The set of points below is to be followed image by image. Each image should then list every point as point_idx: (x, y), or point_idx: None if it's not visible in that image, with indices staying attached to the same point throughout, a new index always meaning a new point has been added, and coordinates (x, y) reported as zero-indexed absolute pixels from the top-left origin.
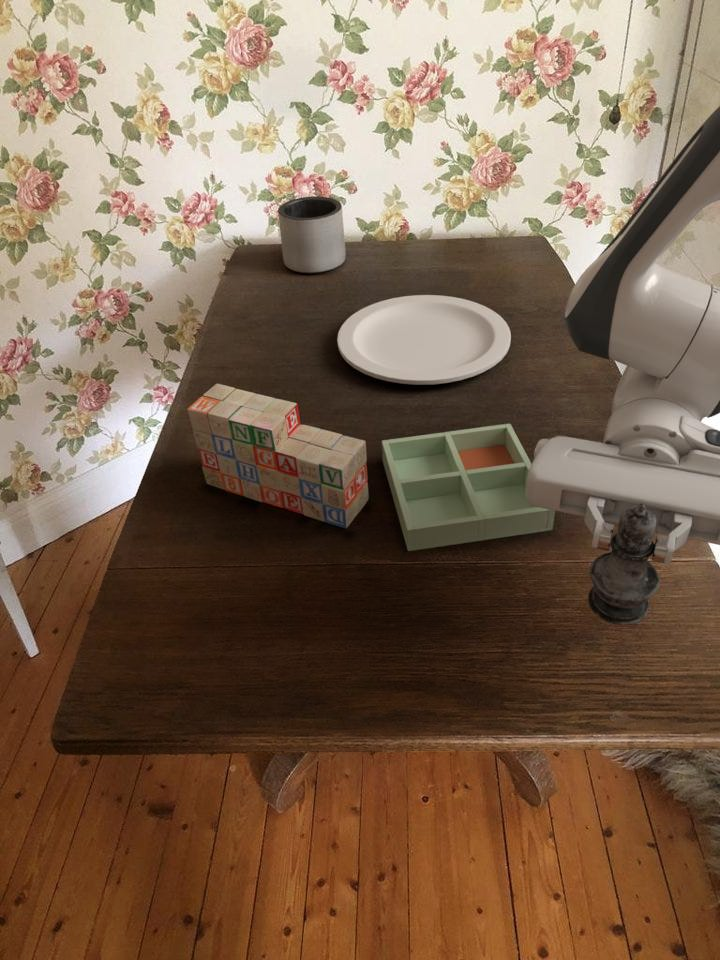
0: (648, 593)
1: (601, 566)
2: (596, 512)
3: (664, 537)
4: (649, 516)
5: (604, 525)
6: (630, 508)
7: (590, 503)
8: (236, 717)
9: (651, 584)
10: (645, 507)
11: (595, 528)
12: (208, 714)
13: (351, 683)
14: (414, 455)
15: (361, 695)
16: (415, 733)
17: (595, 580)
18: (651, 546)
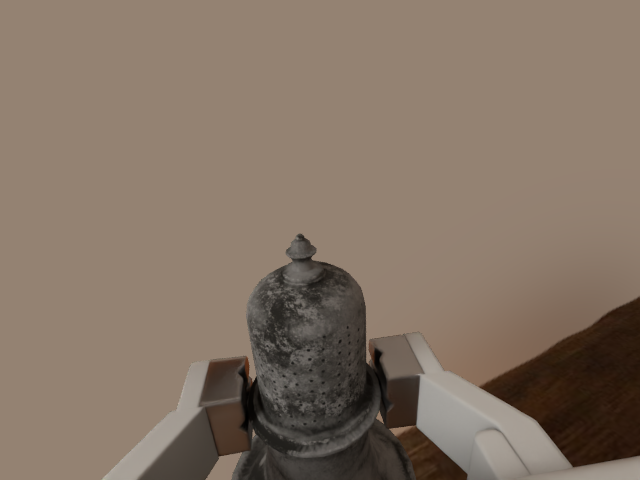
0: (256, 442)
1: (384, 456)
2: (471, 395)
3: (216, 392)
4: (270, 278)
5: (411, 363)
6: (341, 289)
7: (530, 431)
8: (616, 328)
9: (250, 469)
10: (287, 251)
11: (427, 344)
12: (635, 321)
13: (596, 401)
14: None
15: (570, 394)
16: (483, 385)
17: (379, 426)
18: (257, 394)
